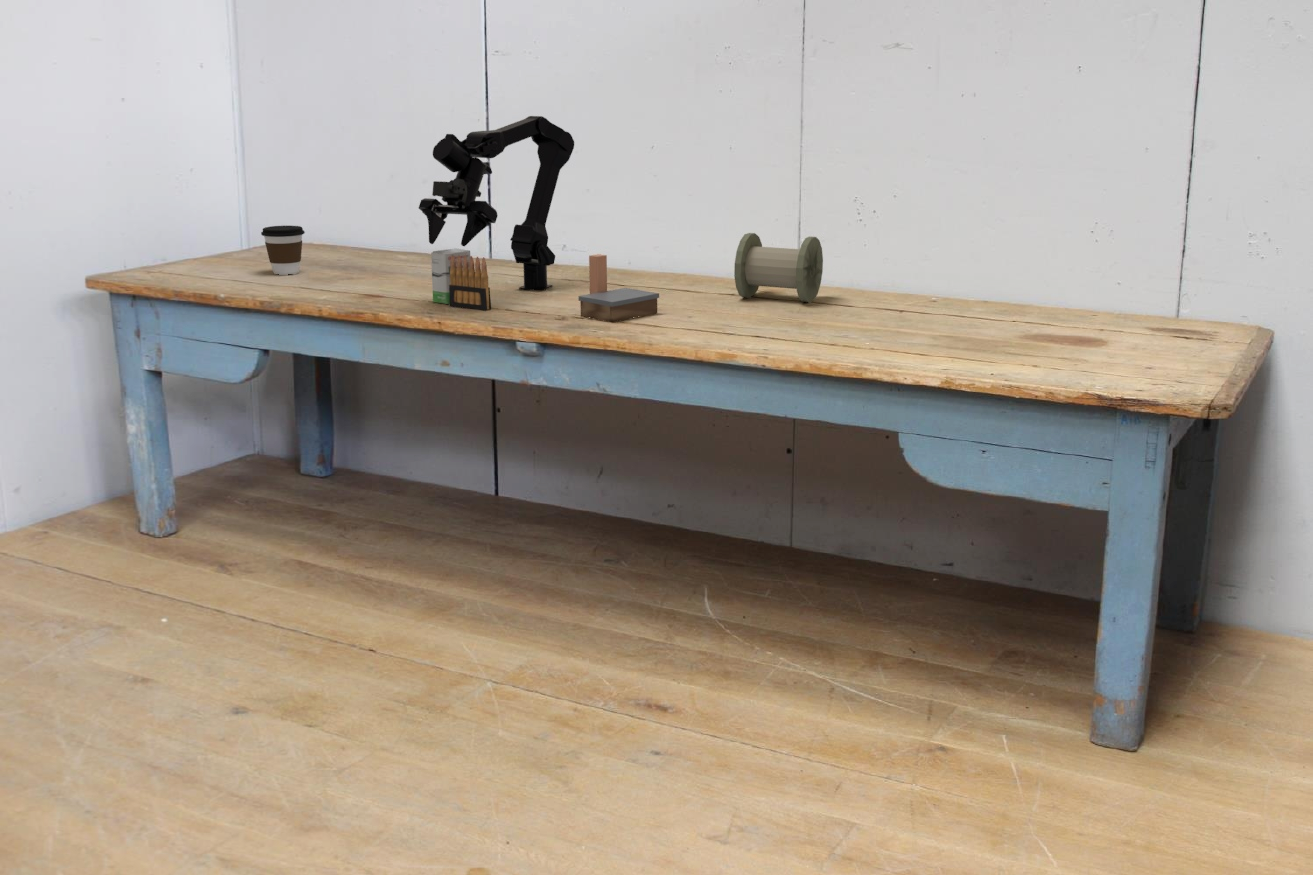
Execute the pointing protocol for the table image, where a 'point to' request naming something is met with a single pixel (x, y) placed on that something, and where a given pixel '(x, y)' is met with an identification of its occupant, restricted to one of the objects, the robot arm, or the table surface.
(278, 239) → the coffee cup
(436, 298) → the ink box
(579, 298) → the lid
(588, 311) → the tub
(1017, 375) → the table surface
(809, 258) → the spool
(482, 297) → the ammunition clip
